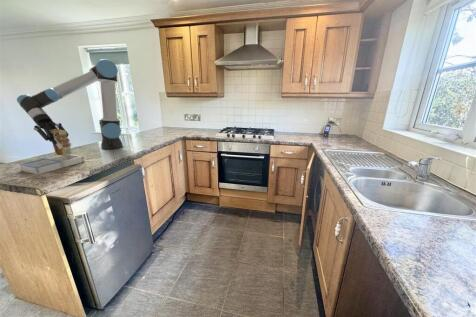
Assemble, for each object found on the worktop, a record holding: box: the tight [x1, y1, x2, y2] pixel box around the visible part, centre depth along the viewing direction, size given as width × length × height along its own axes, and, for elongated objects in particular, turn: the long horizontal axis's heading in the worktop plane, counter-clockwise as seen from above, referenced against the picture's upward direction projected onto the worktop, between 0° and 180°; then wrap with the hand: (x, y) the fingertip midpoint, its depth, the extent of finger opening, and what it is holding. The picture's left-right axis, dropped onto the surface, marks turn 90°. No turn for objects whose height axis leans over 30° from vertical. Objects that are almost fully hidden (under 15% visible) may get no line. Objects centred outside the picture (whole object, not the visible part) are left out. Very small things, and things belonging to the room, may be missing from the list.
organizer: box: [19, 153, 85, 175], centre depth 116 cm, size 24×14×4 cm, turn 161°
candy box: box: [49, 128, 72, 156], centre depth 118 cm, size 9×4×15 cm, turn 70°
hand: (65, 146), depth 117 cm, fingers closed on candy box, 4 cm apart
